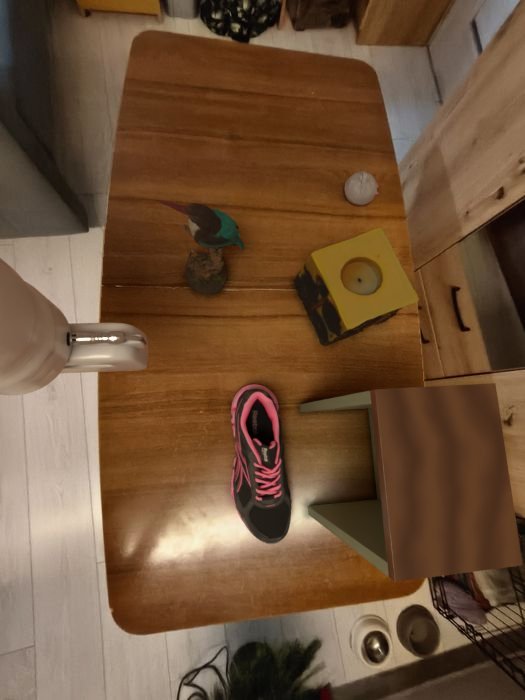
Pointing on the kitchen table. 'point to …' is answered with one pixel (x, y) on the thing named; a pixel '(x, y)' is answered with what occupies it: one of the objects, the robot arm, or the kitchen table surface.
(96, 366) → the robot arm
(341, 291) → the candle
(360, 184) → the garlic bulb
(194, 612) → the kitchen table surface
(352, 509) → the dark grey angular piece
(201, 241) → the sculpture
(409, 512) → the board
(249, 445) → the running shoe
